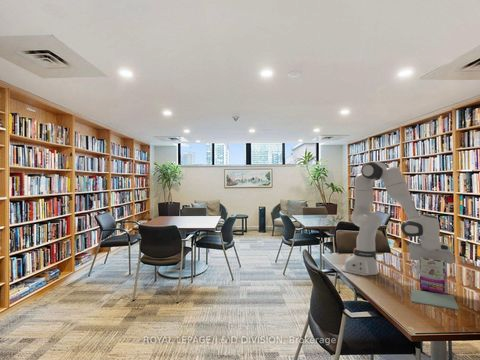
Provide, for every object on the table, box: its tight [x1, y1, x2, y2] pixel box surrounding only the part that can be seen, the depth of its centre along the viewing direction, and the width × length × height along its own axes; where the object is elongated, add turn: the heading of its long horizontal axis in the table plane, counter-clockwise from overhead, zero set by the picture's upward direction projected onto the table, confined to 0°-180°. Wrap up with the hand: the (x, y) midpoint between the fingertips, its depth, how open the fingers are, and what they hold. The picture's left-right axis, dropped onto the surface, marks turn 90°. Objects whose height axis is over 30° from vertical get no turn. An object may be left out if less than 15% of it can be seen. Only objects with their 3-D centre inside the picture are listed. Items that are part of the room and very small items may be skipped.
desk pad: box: [410, 288, 460, 311], centre depth 135 cm, size 18×17×1 cm
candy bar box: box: [419, 257, 448, 295], centre depth 145 cm, size 11×5×16 cm, turn 41°
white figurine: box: [410, 260, 420, 281], centre depth 164 cm, size 9×4×12 cm, turn 56°
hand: (431, 269), depth 152 cm, fingers closed
